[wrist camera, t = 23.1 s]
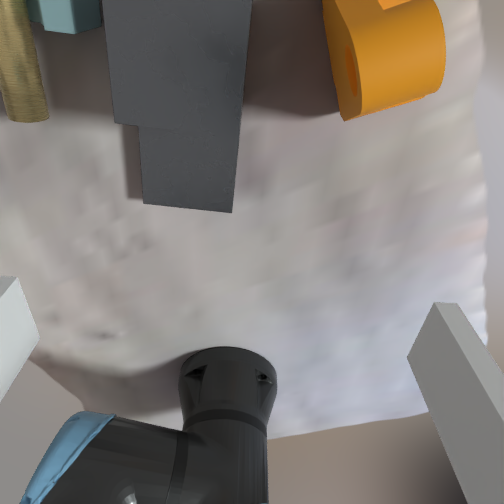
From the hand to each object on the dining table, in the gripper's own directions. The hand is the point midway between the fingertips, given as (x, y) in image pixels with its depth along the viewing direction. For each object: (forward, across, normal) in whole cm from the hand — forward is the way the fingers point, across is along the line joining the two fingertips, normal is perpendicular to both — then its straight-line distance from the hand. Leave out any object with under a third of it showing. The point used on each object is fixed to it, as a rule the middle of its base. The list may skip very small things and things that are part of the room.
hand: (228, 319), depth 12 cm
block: (+26, +5, 0) cm, 27 cm away
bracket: (+26, -10, -7) cm, 29 cm away
